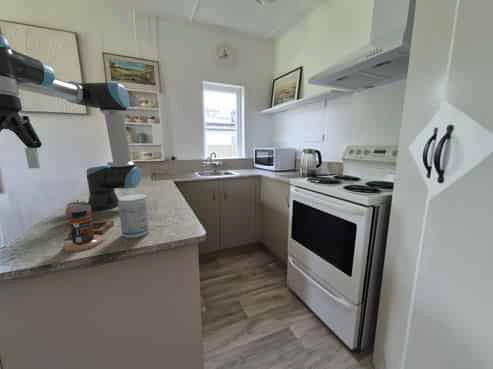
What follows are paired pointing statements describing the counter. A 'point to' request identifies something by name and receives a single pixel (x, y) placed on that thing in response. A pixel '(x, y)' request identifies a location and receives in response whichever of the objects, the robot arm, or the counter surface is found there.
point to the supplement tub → (133, 215)
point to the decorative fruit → (77, 207)
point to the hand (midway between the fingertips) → (16, 170)
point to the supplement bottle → (81, 227)
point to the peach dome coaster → (75, 247)
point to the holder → (104, 227)
